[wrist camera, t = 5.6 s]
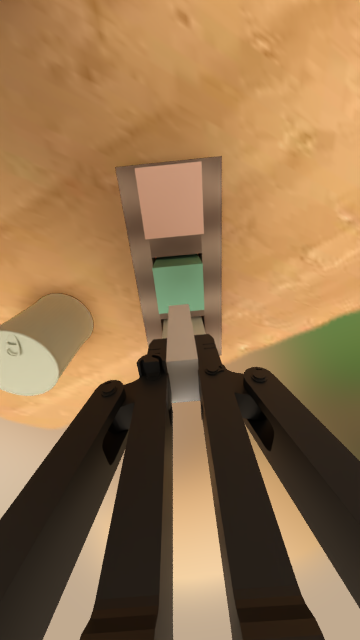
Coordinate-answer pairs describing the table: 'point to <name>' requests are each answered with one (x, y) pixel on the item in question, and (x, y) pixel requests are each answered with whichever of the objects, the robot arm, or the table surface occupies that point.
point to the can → (42, 343)
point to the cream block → (196, 323)
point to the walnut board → (177, 247)
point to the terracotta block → (171, 199)
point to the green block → (179, 282)
